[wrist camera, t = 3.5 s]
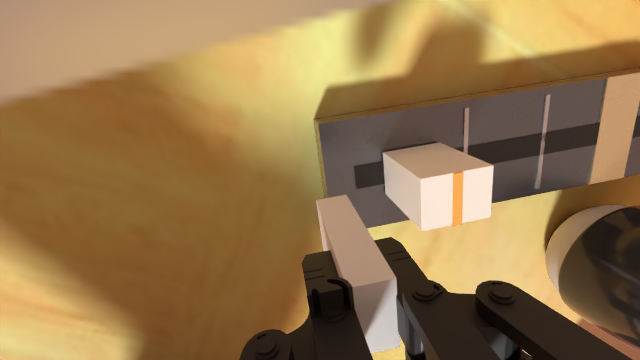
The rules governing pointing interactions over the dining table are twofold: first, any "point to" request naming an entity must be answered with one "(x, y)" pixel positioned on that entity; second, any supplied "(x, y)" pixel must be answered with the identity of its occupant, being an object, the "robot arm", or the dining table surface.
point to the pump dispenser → (600, 268)
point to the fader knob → (438, 185)
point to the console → (492, 139)
